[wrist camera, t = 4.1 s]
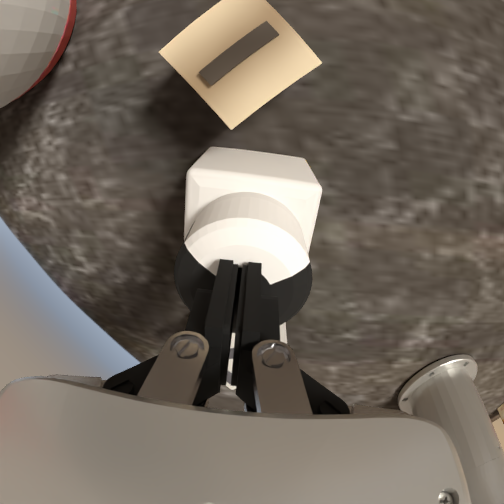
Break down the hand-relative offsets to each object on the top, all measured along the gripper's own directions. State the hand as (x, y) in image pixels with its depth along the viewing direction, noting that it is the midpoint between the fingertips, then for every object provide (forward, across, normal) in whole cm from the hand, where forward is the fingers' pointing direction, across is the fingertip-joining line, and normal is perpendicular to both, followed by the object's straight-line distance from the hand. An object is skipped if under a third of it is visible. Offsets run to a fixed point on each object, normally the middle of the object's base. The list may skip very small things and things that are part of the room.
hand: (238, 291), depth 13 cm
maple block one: (+12, +1, -10) cm, 16 cm away
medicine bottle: (+12, 0, 0) cm, 12 cm away
